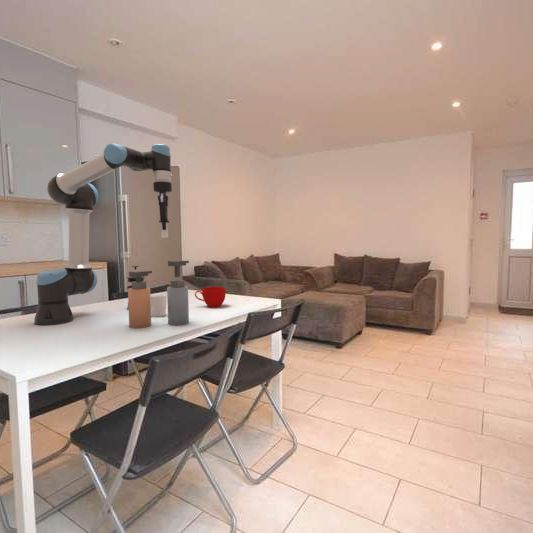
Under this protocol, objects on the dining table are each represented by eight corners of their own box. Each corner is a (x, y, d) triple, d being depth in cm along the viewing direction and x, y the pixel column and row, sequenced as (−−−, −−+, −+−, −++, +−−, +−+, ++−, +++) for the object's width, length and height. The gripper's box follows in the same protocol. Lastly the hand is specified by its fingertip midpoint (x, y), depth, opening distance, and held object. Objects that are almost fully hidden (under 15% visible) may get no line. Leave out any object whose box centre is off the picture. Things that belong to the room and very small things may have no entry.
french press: (122, 308, 191) (121, 266, 189) (136, 306, 199) (135, 264, 198) (138, 310, 186) (136, 266, 184) (151, 307, 194) (150, 265, 192)
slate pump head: (175, 277, 153) (175, 261, 152) (168, 277, 155) (167, 261, 155) (191, 275, 161) (191, 260, 161) (184, 275, 163) (184, 260, 163)
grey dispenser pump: (136, 289, 149) (135, 272, 149) (129, 288, 151) (128, 271, 151) (154, 286, 157) (154, 270, 157) (148, 285, 160) (147, 270, 159)
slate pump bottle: (177, 326, 152) (176, 282, 151) (163, 323, 157) (162, 280, 156) (193, 322, 160) (192, 279, 158) (178, 319, 165) (178, 278, 163)
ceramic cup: (195, 305, 202) (194, 287, 201) (225, 303, 205) (225, 286, 204) (194, 309, 189) (194, 290, 188) (226, 308, 192) (226, 289, 192)
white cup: (148, 314, 176) (148, 294, 175) (165, 313, 180) (164, 293, 179) (151, 317, 169) (150, 296, 168) (168, 316, 173) (167, 295, 172)
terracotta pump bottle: (138, 328, 148) (136, 283, 147) (124, 326, 153) (123, 282, 151) (155, 324, 155) (154, 281, 154) (142, 322, 160) (141, 280, 159)
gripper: (170, 179, 147) (172, 237, 148) (172, 184, 159) (174, 237, 161) (151, 179, 145) (153, 237, 147) (155, 184, 158) (157, 238, 160)
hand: (164, 237), depth 154 cm, fingers closed
